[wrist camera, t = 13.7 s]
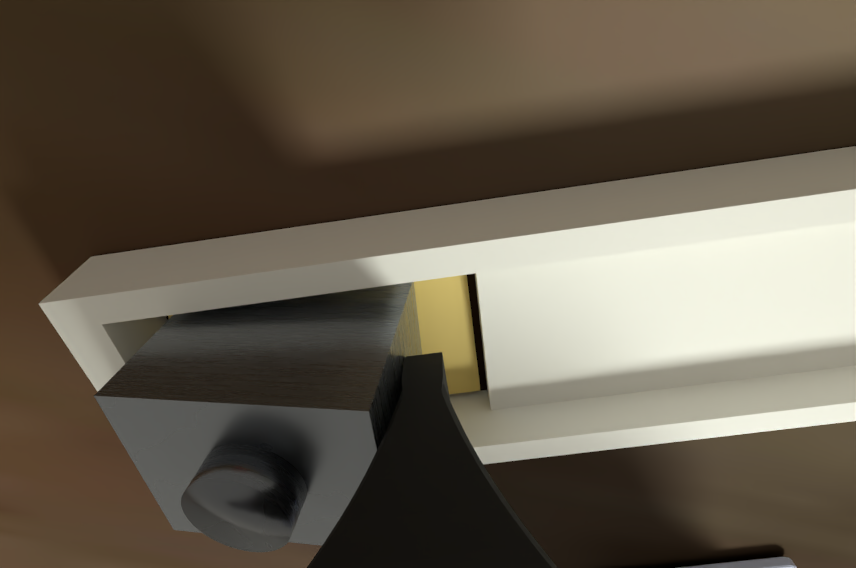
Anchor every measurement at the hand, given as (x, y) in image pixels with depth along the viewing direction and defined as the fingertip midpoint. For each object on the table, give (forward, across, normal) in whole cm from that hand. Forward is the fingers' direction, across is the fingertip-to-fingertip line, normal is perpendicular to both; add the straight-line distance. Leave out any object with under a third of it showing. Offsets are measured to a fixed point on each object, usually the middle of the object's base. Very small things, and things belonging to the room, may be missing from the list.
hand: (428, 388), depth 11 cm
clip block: (+2, +3, 0) cm, 3 cm away
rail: (+2, -4, 0) cm, 5 cm away
